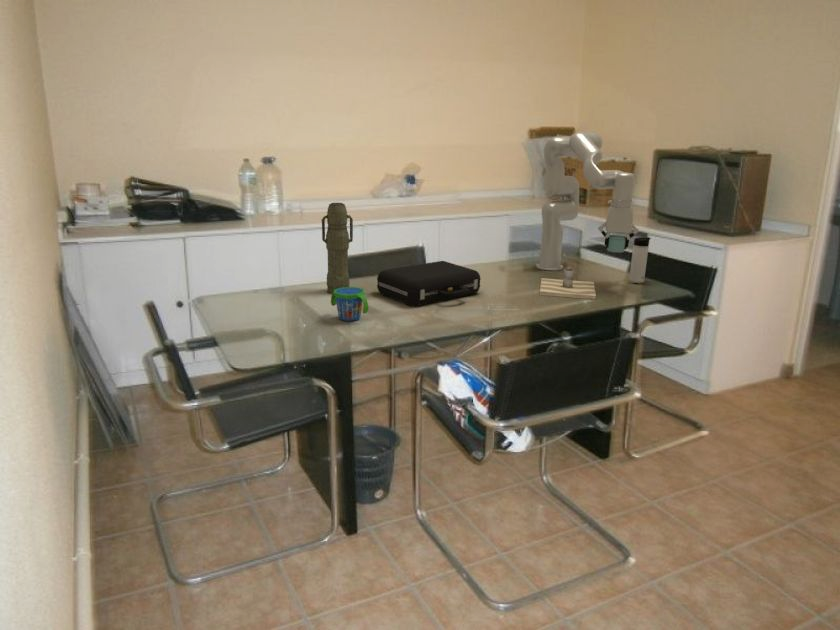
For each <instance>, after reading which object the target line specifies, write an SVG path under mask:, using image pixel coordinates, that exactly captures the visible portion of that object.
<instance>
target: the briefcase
mask: <svg viewBox="0 0 840 630" xmlns="http://www.w3.org/2000/svg"><path fill="white" fill-rule="evenodd" d="M376 280H377V285H376V287H377V290H378V292H379V293H380V294H381V295H383V296H386V297H388V298H391V299H393V300H396V301H399V302H400V303H403V304H406V305H408V306H411V307H418V306H422V305H423V306H424V305H429V304H432V303H433V304H434V303H437V302H442V301H447V300H452V299H457V298H462V297H466V296H472V295H475V294H476V293H478V292H479V290H480V289H481V288H480V287H481V280H482V279H481V274H480V273H479V272H478V271H477V270H475V269H472V268H469V267H465V266H462V265H459V264H456V263H451V262H448V261H444V260H438V261H433V262H432V261H431V262H427V263H420V264H414V265H408V266H402V267H395V268H390V269H384V270H381V271H380V272H379V273H378V275H377V277H376Z"/></svg>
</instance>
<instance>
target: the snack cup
mask: <svg viewBox="0 0 840 630" xmlns="http://www.w3.org/2000/svg"><path fill="white" fill-rule="evenodd" d="M330 304H331V306H336V310H337V313H338V314H337V315H338V319H339V320H341V321H346V322H352V321H357V320H360V318H361V316H362V315H361V313H363V314H367V313H368V311H369V302H368V300H367V296H366V295H365V289H363V288H362V287H361V288H360V287H357V286H355V287H354V286H349V287H342V288H338V289H336V290H334V291H333V293H332V294H331V298H330ZM362 308H363V309H362Z"/></svg>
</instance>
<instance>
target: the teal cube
mask: <svg viewBox="0 0 840 630" xmlns="http://www.w3.org/2000/svg"><path fill="white" fill-rule="evenodd" d="M625 241H626V235H622V234H610V235H609V245H608V248H606V249H607V252H609V253H610V252H611V253H624V252H625V251H626V249H625Z"/></svg>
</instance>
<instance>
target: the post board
mask: <svg viewBox="0 0 840 630" xmlns="http://www.w3.org/2000/svg"><path fill="white" fill-rule="evenodd" d="M574 274H575V270H574V269H573V267H571V266H567V267H565V268H563V275H562V276H563V277H562V278H563V279H558V278H557V279H556V278H543V277H542V278H541V280H540V287H539V296H545V297H560V298H574V299H584V300H596V297H597V295H596V294H597V293H596V289H595V288H596V287H595V283H594V281H587V280H586V281H583V280H574Z"/></svg>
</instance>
